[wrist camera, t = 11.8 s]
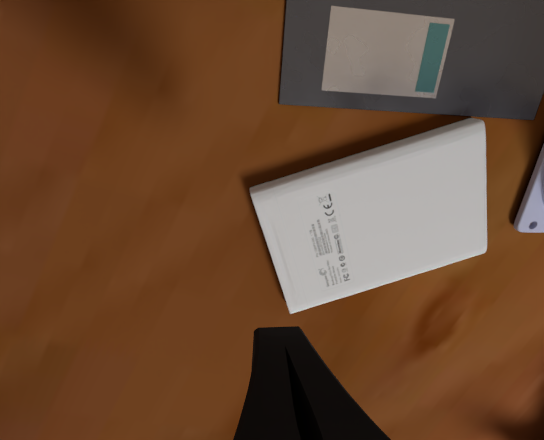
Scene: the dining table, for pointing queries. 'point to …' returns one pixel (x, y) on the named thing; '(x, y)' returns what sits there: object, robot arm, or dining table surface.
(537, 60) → the bay plate
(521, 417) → the dining table surface
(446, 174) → the external hard drive
